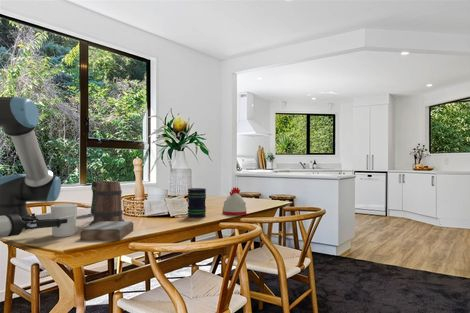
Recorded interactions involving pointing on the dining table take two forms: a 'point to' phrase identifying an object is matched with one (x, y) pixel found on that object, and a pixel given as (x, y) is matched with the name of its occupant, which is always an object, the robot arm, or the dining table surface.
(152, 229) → the dining table surface
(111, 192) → the tankard
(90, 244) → the dining table surface
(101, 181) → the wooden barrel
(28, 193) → the robot arm
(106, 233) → the dock
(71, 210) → the candle holder
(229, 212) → the pom-pom beanie
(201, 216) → the storage jar
